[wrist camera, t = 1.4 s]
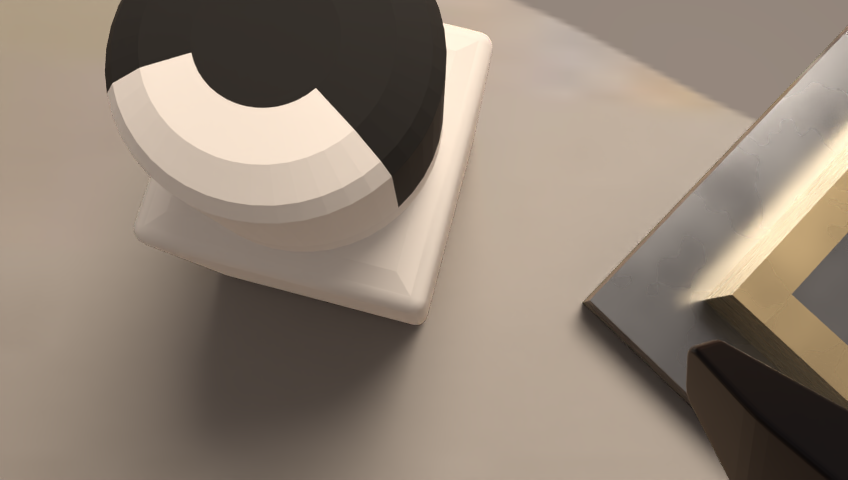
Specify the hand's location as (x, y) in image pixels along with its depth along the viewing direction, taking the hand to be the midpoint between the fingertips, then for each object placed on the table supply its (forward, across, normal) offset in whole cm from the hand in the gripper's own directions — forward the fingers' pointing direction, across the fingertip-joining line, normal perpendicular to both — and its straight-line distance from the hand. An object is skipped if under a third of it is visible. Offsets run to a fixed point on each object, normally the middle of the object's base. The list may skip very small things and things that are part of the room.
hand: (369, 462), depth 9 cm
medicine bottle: (+14, 0, +5) cm, 15 cm away
